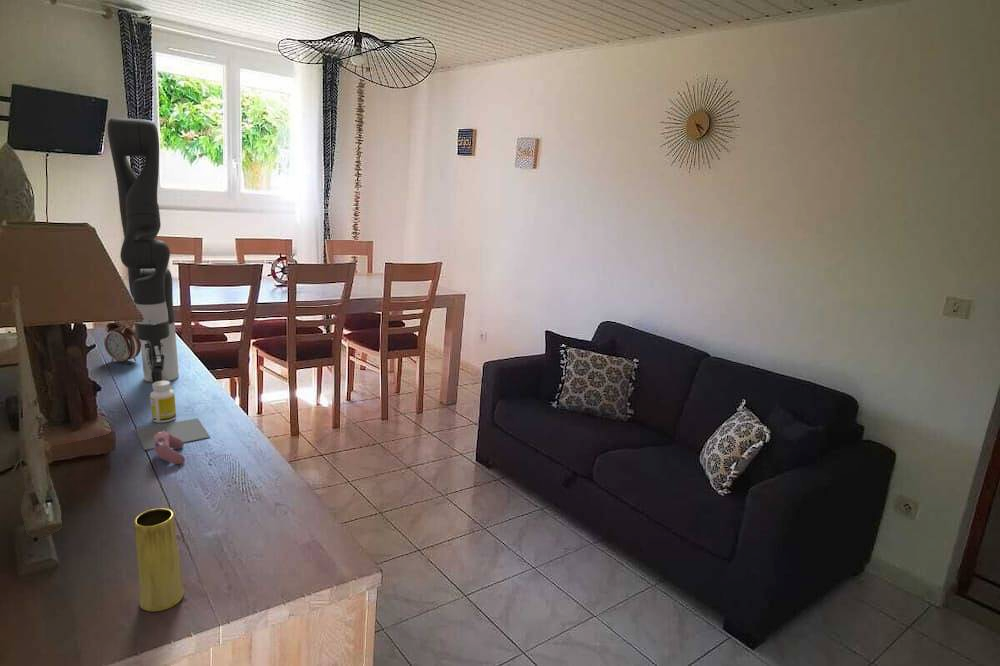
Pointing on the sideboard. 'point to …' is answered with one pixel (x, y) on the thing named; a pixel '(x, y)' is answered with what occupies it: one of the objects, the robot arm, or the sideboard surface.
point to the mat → (173, 432)
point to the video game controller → (168, 447)
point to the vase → (158, 560)
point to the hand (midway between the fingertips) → (157, 383)
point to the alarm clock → (121, 342)
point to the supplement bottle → (162, 402)
